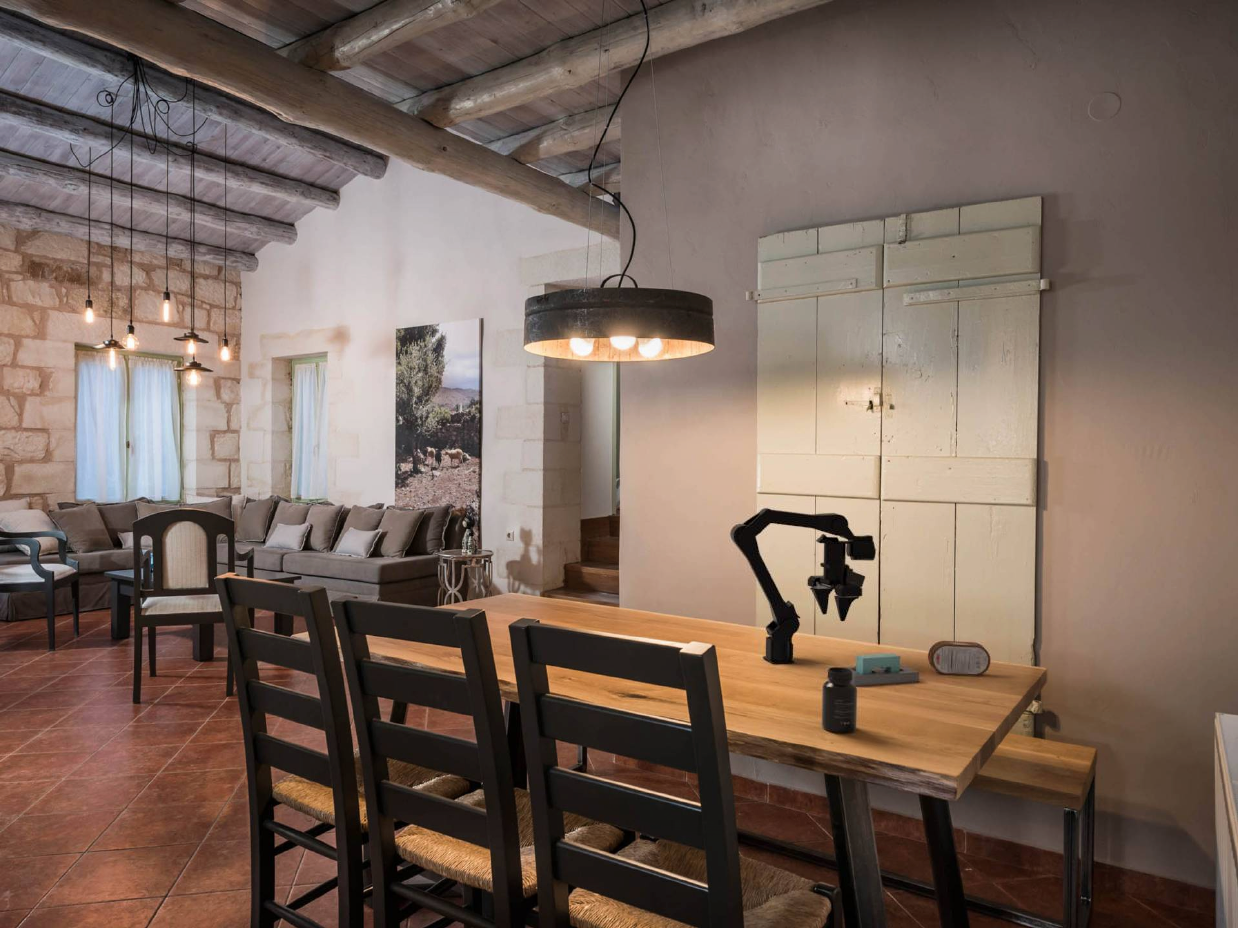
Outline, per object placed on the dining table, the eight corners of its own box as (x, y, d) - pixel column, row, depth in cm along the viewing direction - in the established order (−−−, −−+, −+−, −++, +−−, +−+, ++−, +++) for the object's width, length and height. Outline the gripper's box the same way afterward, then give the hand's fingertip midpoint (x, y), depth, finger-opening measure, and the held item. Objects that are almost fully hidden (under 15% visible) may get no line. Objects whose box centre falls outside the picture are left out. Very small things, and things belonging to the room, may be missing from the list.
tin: (987, 674, 206) (988, 641, 206) (991, 677, 203) (992, 644, 203) (927, 671, 208) (927, 639, 208) (930, 674, 205) (931, 642, 204)
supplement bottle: (816, 723, 165) (818, 665, 165) (848, 722, 166) (850, 665, 166) (828, 734, 158) (829, 674, 158) (861, 734, 159) (863, 674, 159)
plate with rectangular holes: (854, 686, 193) (854, 676, 193) (836, 677, 200) (837, 667, 200) (918, 681, 197) (919, 671, 197) (899, 673, 205) (899, 663, 205)
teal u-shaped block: (862, 682, 196) (863, 658, 196) (855, 679, 199) (856, 655, 199) (899, 680, 199) (900, 656, 199) (892, 676, 202) (892, 653, 202)
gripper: (880, 564, 209) (879, 623, 209) (842, 555, 227) (841, 610, 227) (843, 564, 206) (841, 625, 206) (807, 555, 224) (805, 611, 224)
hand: (833, 617), depth 216 cm, fingers open, 9 cm apart
